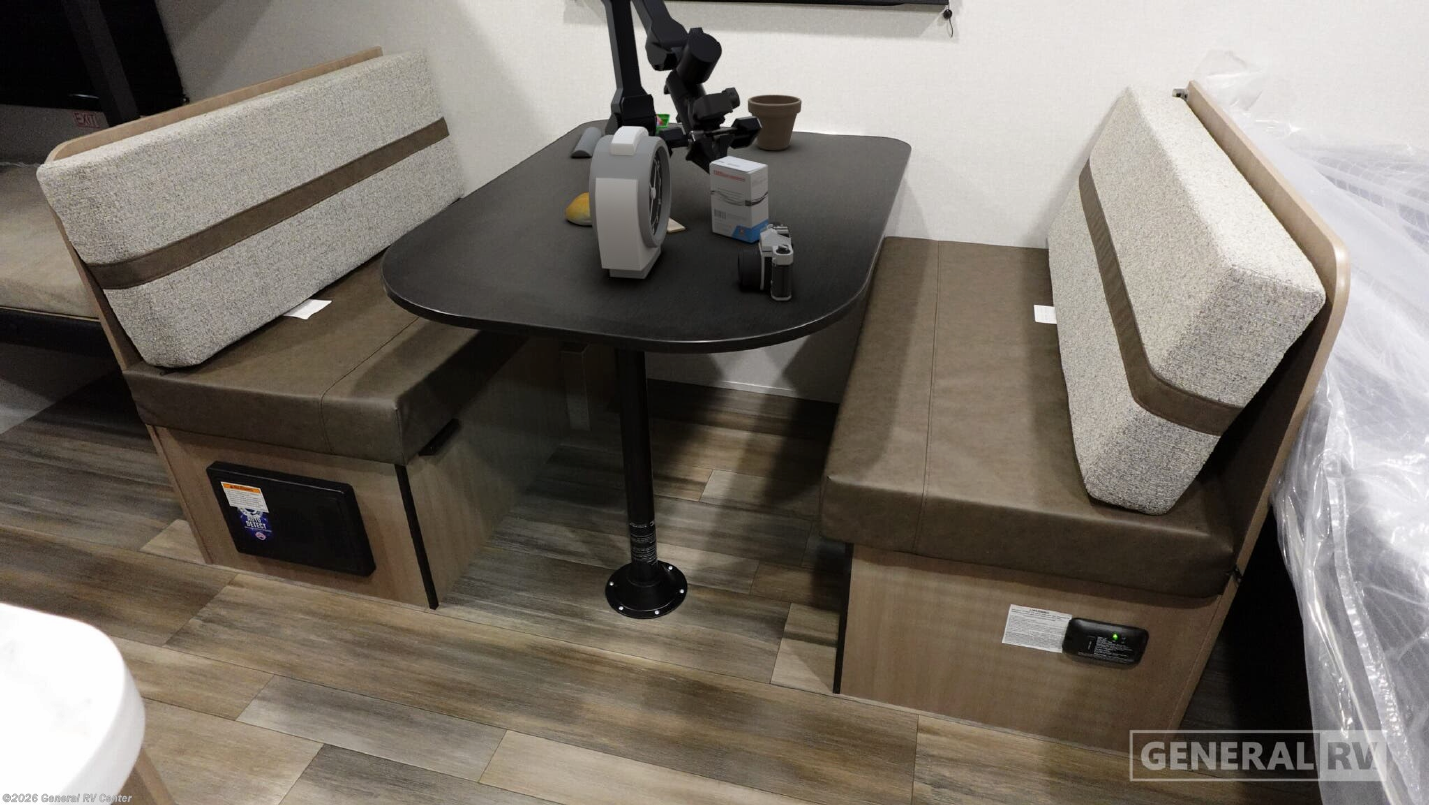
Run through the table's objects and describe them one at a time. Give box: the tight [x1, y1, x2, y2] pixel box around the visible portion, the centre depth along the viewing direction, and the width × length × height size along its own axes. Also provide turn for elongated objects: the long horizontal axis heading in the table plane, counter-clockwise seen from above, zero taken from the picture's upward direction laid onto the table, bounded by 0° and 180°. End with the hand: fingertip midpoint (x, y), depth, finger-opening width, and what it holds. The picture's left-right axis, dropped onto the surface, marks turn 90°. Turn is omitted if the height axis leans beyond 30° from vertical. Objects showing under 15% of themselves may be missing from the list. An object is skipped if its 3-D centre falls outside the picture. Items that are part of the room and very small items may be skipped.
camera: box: [737, 221, 795, 301], centre depth 125 cm, size 13×8×9 cm, turn 5°
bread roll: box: [565, 191, 592, 226], centre depth 151 cm, size 8×9×4 cm
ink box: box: [709, 155, 770, 244], centre depth 142 cm, size 8×5×12 cm, turn 49°
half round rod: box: [571, 126, 603, 158], centre depth 192 cm, size 4×20×2 cm, turn 179°
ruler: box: [666, 217, 686, 234], centre depth 152 cm, size 16×3×1 cm, turn 29°
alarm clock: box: [588, 126, 673, 280], centre depth 129 cm, size 18×8×20 cm, turn 170°
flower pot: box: [747, 94, 803, 151], centre depth 189 cm, size 12×11×10 cm
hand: (724, 182), depth 144 cm, fingers closed
